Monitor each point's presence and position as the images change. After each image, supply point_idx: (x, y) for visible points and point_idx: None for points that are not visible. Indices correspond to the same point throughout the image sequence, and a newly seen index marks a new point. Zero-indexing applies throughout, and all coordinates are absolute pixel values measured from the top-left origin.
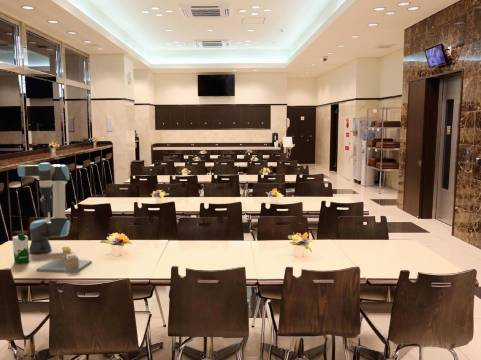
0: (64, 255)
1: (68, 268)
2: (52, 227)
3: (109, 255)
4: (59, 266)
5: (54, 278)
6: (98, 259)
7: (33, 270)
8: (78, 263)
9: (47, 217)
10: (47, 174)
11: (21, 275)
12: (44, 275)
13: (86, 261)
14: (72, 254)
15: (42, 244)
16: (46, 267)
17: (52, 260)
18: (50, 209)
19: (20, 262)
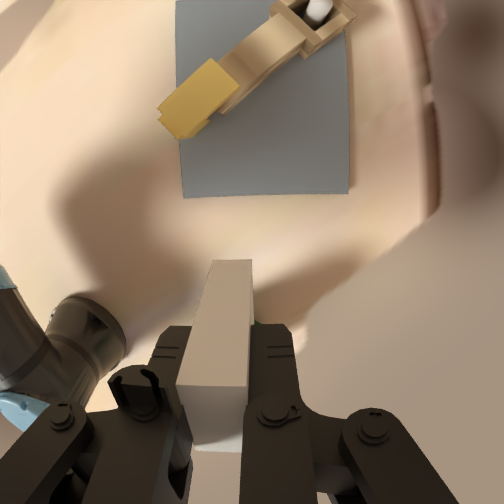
0: (243, 91)
1: (342, 30)
2: (13, 343)
3: (66, 8)
4: (297, 99)
5: (420, 66)
6: (124, 8)
7: (335, 213)
8: None
9: (251, 330)
10: None
11: (399, 226)
12: (394, 125)
13: (193, 13)
14: (259, 29)
15: (84, 336)
16: (321, 157)
17: (205, 193)
18: (86, 437)
19: (255, 323)
